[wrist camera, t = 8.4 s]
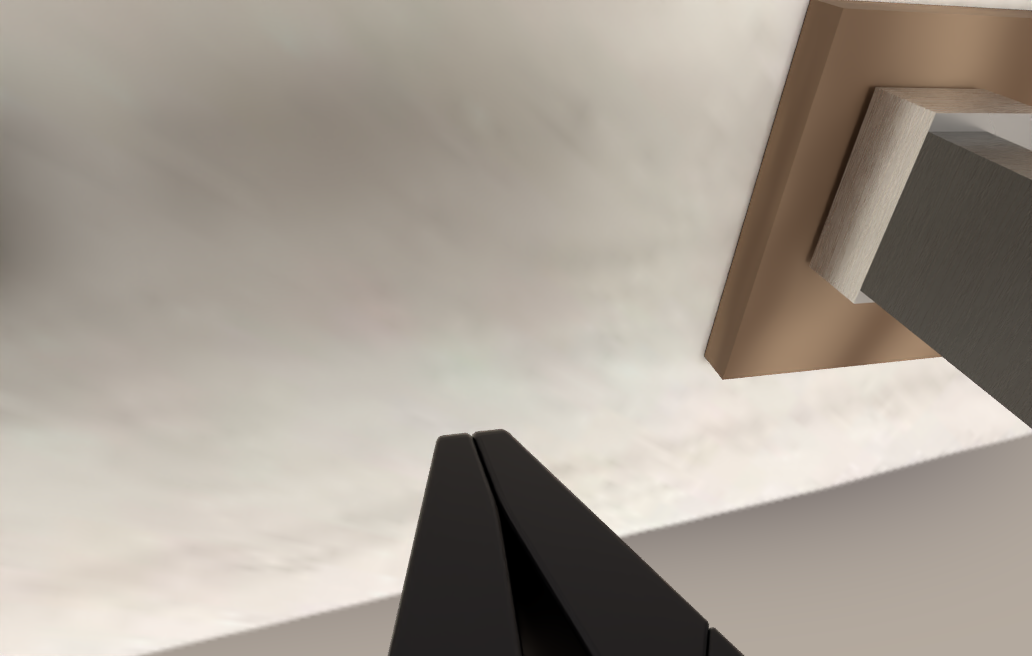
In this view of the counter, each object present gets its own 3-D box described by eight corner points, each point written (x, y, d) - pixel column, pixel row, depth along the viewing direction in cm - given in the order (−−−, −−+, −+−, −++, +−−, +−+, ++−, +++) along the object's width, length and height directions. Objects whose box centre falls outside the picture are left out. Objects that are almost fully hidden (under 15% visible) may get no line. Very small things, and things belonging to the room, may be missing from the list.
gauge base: (704, 356, 27) (816, 499, 21) (811, -2, 20) (1028, 65, 14) (969, 331, 30) (1129, 449, 25) (1143, 16, 23) (1431, 77, 17)
